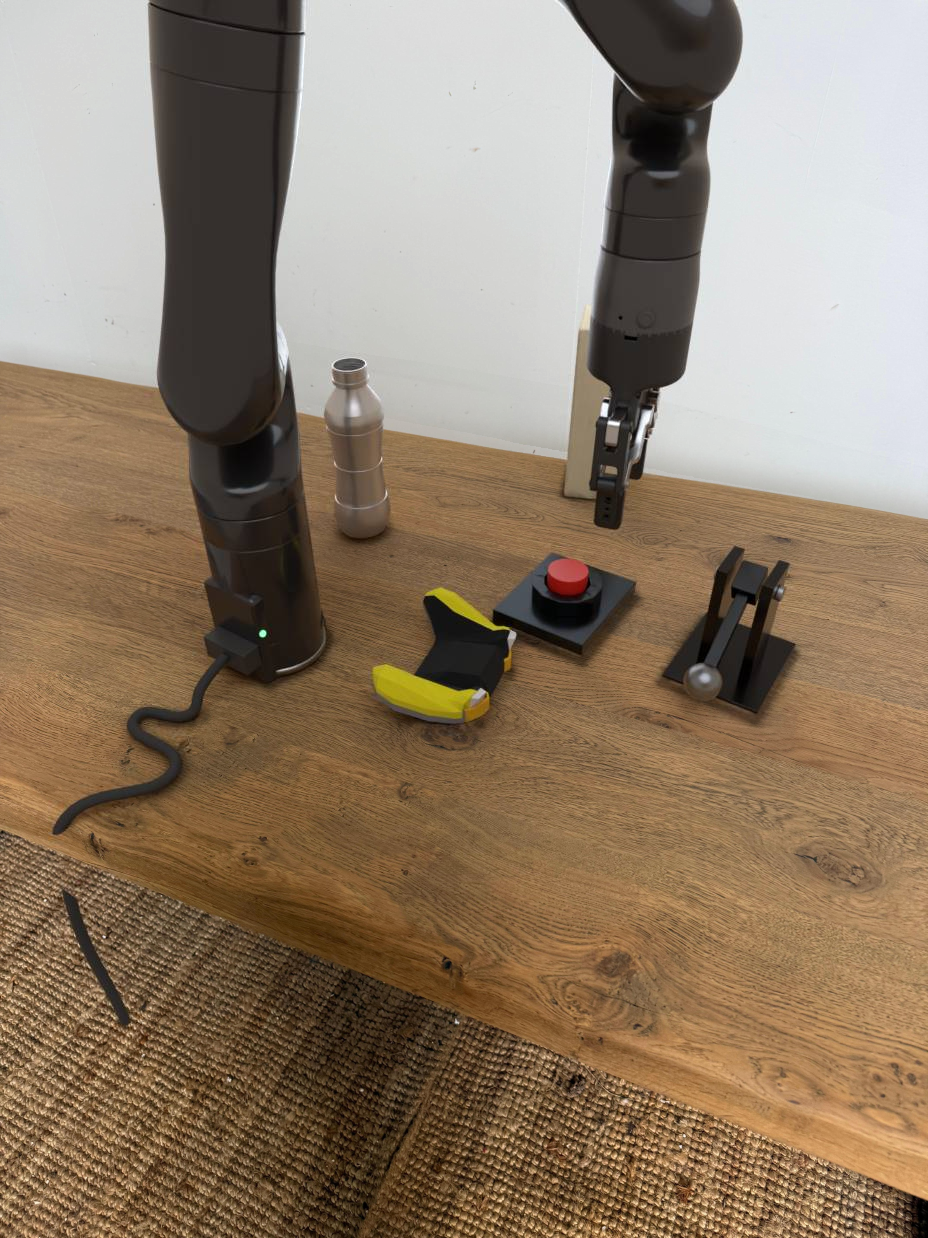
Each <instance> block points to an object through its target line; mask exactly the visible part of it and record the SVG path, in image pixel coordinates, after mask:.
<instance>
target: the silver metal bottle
mask: <svg viewBox="0 0 928 1238" xmlns="http://www.w3.org/2000/svg"><path fill="white" fill-rule="evenodd" d="M331 373H332V377H331V382H332V384H333V386H334V388H333V390H332V392H331V393H330V394H329V396H328V398H327V400H326V402H325V404H324V405H325V406H324V409H323V410H324V411H323V419H324V424H325V427H326V431H327V435H328V439H329V443H330V447H331V452H332V458H333V463H334V471H335V474H334V475H335V477H334V478H335V495H334V504H333V505H334V506H333V507H334V508H333V510H334V511H333V516H334V519H335V521H336V525H337V527H338V529H339V530H341V532H342V533H344V534H345V535H346V536H348V537H351V538H354V539H355V538H356V539H368V538H372V537H375V536H378V535H379V534H382V533H383V531H384V530H385V529H386V528H387V526H388V525H389V524H390V520H391V511H392V507H391V502H390V497H389V494H388V491H387V487H386V479H385V475H384V467H383V434H384V421H385V409H384V406H383V403H382V401H381V398H380V397H379V396H378V395H377V394H376V392H375V391H374V390H373V389H372V388H371V387H370V386H369V384H368V383H369V382H370V375H369V373H368V363H367V361H366V360H365V359H363V358H360V357H343V358H339V359H337V360H335V361H333V362H332V364H331Z"/></svg>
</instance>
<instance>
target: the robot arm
mask: <svg viewBox="0 0 928 1238" xmlns="http://www.w3.org/2000/svg"><path fill="white" fill-rule="evenodd" d="M554 1H555V2H556V3H558V4H559V5H560V6H561V7H562V8H563V9H564V10H565V11H566V12H567V13H568V14H569V16H570V18H572V20H573V21H574V22H575V24H576V25H577V26H578V28H579V29H580V30H581V32H582V33H583V34H584V35H585V37H586V38H587V39H588V41H589V42H590V43H591V44H592V46H593V48H595V50H596V51H597V52H598V54H599V55H600V56H601V57H602V59H603V60H604V61H605V62H606V64H607V65H608V66H609V68H611V70H612V86H611V89H612V90H611V125H610V126H611V128H610V130H611V131H610V132H611V134H610V136H611V137H610V139H611V140H610V141H611V145H610V147H611V151H610V161H609V168H608V174H607V180H606V185H605V186H606V187H605V193H604V201H603V203H604V204H603V212H602V213H603V214H602V224H601V234H600V245H599V251H598V256H597V261H596V266H595V271H594V276H593V282H592V295H591V304H590V305H591V317H590V328H589V339H588V351H587V368H588V370H589V372H590V373H591V374H592V376H594V377H595V378H596V379H598V380H599V381H603V382H604V383H606V384H607V385H608V386H609V387H610V390H609V398H604V399H603V402H602V406H601V410H600V416H599V418H598V421H596V425H595V427H596V434H595V443H594V452H593V461H592V470H591V479H590V481H589V486H590V491H595V492H596V491H597V494H596V499H595V503H594V504H595V505H594V512H593V513H594V514H593V524H594V525H595V527H598V528H602V529H608V530H612V531H617V530H619V529H620V527H621V525H622V523H623V518H624V510H625V502H626V495H627V488H629V486H630V480H634V481H638V480H640V479H641V478H642V476H643V474H644V469H645V463H646V456H647V448H648V443H649V439H650V437H651V436H652V435H653V431H654V428H655V426H656V422H657V419H658V414H659V413H658V408H659V406H660V402H661V401H660V400H661V388H666V387H669V386H671V385H674V384H675V383H677V382H678V381H680V380H681V379H682V378H683V377H684V375H685V372H686V370H687V365H688V364H687V363H688V356H689V352H690V351H689V350H690V344H691V339H692V331H693V325H694V320H695V313H696V307H697V301H698V296H699V289H700V279H701V255H702V248H703V241H704V236H705V229H706V222H707V218H708V217H707V216H708V211H709V203H710V196H711V195H710V194H711V185H712V184H711V183H712V177H711V176H712V175H711V173H712V172H711V166H710V165H711V164H710V161H709V155H708V143H709V142H708V141H709V134H710V129H711V121H712V114H713V107H714V102H715V101H716V100H717V99H719V98H720V96H722V94H723V93H724V92H725V91H726V90H727V88H728V87H729V85H730V84H731V82H732V80H733V79H734V77H735V76H736V75H735V74H736V72H737V70H738V66H739V64H740V61H741V57H742V51H743V45H744V44H743V43H744V33H743V31H744V30H743V24H742V23H743V22H742V19H741V14H740V12H739V9H738V6H737V4H736V2H735V0H554ZM147 24H148V28H147V29H148V54H149V57H148V58H149V74H150V76H149V77H150V87H151V88H150V89H151V99H152V114H153V116H152V117H153V129H154V142H155V151H156V152H155V156H156V166H157V175H158V185H159V195H160V203H161V210H162V211H161V213H162V223H163V232H164V233H163V234H164V280H163V282H164V283H163V295H162V296H163V297H162V309H161V310H162V312H161V315H162V316H161V324H160V334H159V335H160V336H159V344H158V346H159V347H158V354H157V364H156V382H157V387H158V391H159V394H160V397H161V400H162V401H163V404H164V406H165V409H166V410H167V412H168V413H169V415H170V416H171V418H172V419H173V420H174V422H176V424H178V425H179V427H180V428H181V429H182V430H183V431H184V432H186V433H187V444H188V446H187V447H188V479H189V484H190V489H191V493H192V498H193V501H194V505H195V508H196V512H197V517H198V521H199V525H200V529H201V535H202V540H203V543H204V548H205V552H206V557H207V560H208V561H207V562H208V565H209V569H210V573H211V574H210V575H211V576H209V577H207V578H206V579H205V580H204V582H203V585H204V590H205V593H206V597H207V602H208V606H209V610H210V614H211V618H212V622H213V629H212V630H210V631H209V632H207V633H206V634H205V635H203V637H202V638H203V641H204V645H205V649H206V652H207V653H206V654H207V656H208V657H210V658H212V659H215V660H214V661H213V662H212V663H211V664H210V665H209V666H208V668H207V669H206V670H205V672H204V673H203V674H202V676H201V677H200V679H199V680H198V681H197V683H196V684H195V687H194V688H193V691H192V695H191V702H190V706H189V707H188V708H186V709H185V710H182V711H173V710H168V709H165V708H160V707H155V706H143V707H140V708H138V709H136V710H134V711H133V712H132V713H131V714H130V716H129V717H128V718H127V722H126V731H128V734H129V735H130V736H131V737H132V738H134V739H135V740H137V741H138V742H139V743H141V744H143V745H145V746H146V747H149V748H151V749H153V750H155V751H157V752H159V753H161V754H162V755H163V756H165V757H166V758H167V760H168V761H169V765H168V768H167V769H166V770H165V772H164V773H163V774H160V776H159V777H157V778H155V779H153V780H150V781H149V780H148V781H146V782H142V783H139V784H134V785H129V786H121V787H117V788H111V789H107V790H102V791H99V792H95V793H91V794H89V795H87V796H85V797H82V798H79V799H78V800H77V801H74V803H71V804H70V805H69V806H68V807H67V808H66V809H64V811H63V812H62V813H61V814H60V815H59V817H58V818H57V820H56V821H55V823H54V825H53V827H52V832H51V834H52V835H54V836H59V835H61V834H63V833H64V832H65V831H66V830H67V829H68V828H69V827H70V825H71V823H72V822H73V821H74V820H75V819H77V817H78V816H79V815H81V814H82V813H83V812H85V811H87V810H89V809H91V808H93V807H96V806H100V805H103V804H106V803H111V802H117V801H121V800H126V799H127V800H128V799H131V798H138V797H141V796H146V795H150V794H153V793H156V792H158V791H160V790H162V789H164V788H166V787H168V786H169V785H170V784H171V783H172V782H174V781H175V780H176V778H177V777H178V776H179V774H180V772H181V769H182V766H183V761H182V756H181V754H180V752H179V751H178V750H177V749H176V748H175V747H173V746H172V745H171V744H170V743H168V742H166V741H165V740H162V739H160V738H159V737H157V736H155V735H153V734H150V733H148V732H147V731H145V730H143V729H142V728H141V727H140V725H139V724H140V722H141V721H142V720H143V719H145V718H153V719H158V720H162V721H167V722H172V723H185V722H188V721H191V720H193V719H194V718H196V717H197V716H198V715H199V714H200V712H201V710H202V708H203V702H204V696H205V693H206V691H207V690H208V688H209V686H210V684H211V683H212V682H213V680H214V679H215V678H216V676H217V675H218V674H219V673H220V671H222V670H223V668H224V667H225V666H227V667H230V668H232V669H234V670H236V671H238V672H240V673H242V674H243V675H245V676H249V675H251V676H252V677H255V678H257V679H259V680H262V681H263V682H265V683H271V682H272V681H274V679H276V678H278V677H282V676H288V675H291V674H294V673H297V672H299V671H302V670H303V669H305V668H307V667H309V666H310V665H312V664H313V663H314V662H316V661H317V660H318V659H319V657H320V656H321V655H323V652H324V650H325V648H326V646H327V636H326V635H327V634H326V630H328V627H327V620H326V618H325V615H324V613H323V610H322V606H321V601H320V599H321V598H320V592H319V585H318V579H317V572H316V565H315V564H316V563H315V557H314V550H313V543H312V537H311V536H312V535H311V529H310V522H309V513H308V507H307V506H308V505H307V499H306V493H305V484H304V479H303V470H302V469H303V468H302V452H301V451H302V450H301V437H300V429H299V421H298V413H297V405H296V396H295V388H294V381H293V372H292V365H291V360H290V359H291V358H290V352H289V347H288V343H287V340H286V337H285V334H284V331H283V330H282V328H281V325H280V324H279V323H278V321H277V320H278V317H277V269H278V268H277V267H278V264H277V263H278V253H279V247H280V241H281V240H280V239H281V233H282V228H283V224H284V218H285V213H286V209H287V202H288V196H289V193H290V186H291V181H292V177H293V176H292V175H293V169H294V163H295V162H294V161H295V157H296V149H297V143H298V135H299V134H298V133H299V125H300V118H301V108H302V99H303V86H304V85H303V84H304V68H305V50H306V48H305V47H306V32H305V31H306V29H307V0H148V3H147ZM606 466H612V467H615V468H617V475H616V474H610V473H605V470H606ZM324 626H325V627H324ZM60 889H61V894H62V897H63V902H64V906H65V909H66V913H67V916H68V919H69V921H70V922H69V923H70V925H71V929H72V931H73V933H74V936H75V938H76V940H77V944H78V945H79V948H80V950H81V952H82V954H83V956H84V957H85V959H86V961H87V963H88V965H89V968H90V970H91V971H92V973H93V975H94V976H95V978H96V980H97V981H98V983H99V985H100V987H101V988H102V990H103V992H104V994H105V995H106V997H107V999H108V1002H109V1003H110V1005H111V1007H112V1009H113V1011H114V1013H115V1015H116V1017H117V1020H118V1022H119V1024H120V1025H121V1026H122V1027H127V1026H128V1025H130V1024H131V1022H132V1019H131V1016H130V1014H129V1011H128V1009H127V1007H126V1005H125V1003H124V1001H123V998H122V995H120V993H119V990H118V988H117V987H116V985H115V983H114V981H113V980H112V978H111V975H110V974H109V973H108V970H107V969H106V967H105V965H104V963H103V961H102V959H101V958H100V956H99V954H98V952H97V950H96V948H95V945H94V943H93V941H92V939H91V937H90V934H89V932H88V929H87V927H86V923H85V922H84V918H83V915H82V911H81V908H80V905H79V900H78V899H77V898H76V897H75V896H74V895H72V894H71V893H69V892H68V891H67V890H65V889H64V888H63V887H60Z"/></svg>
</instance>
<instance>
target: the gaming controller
mask: <svg viewBox="0 0 928 1238" xmlns="http://www.w3.org/2000/svg"><path fill="white" fill-rule="evenodd" d="M422 608H423V610H424V613H425V615H426V618H427V620H428V623H429V626H430V630H431V632H432V635H433V639H434V641H433V644H432V645H431V647H430V649H429V651H428V652H427V654H426V656H425V657H424V658H423V660H422V662H421V663H420V665H419V666H418V668H417V669H416V671H415V673H414V674H411V672H407V671H405V670H403V669H400V668H397V667H395V666H393V665H390V664H387V663H385V664H380V665H376V666H373V667H372V673H371V674H372V678H371V681H372V682H371V684H372V689H373V693H374V694H375V697H376V699H377V700H379V701H380V702H382V703H383V704H384V705H386V706H387V707H388V708H389V709H391V710H392V711H394V712H397V713H401V714H404V715H407V716H411V717H414V718H417V719H420V720H423V721H426V722H432V723H441V724H451V725H452V724H453V725H457V724H463V723H470V722H472V721H474V720H475V719H478V718H480V717H482V716H483V715H484V714H486V713H487V712H488V711H489V710H490V699H491V697H492V696H493V693H494V692H495V690H496V688H497V686H498V684H499V682H500V681H501V678H502V676H503V675H504V673H505V672H507V671H509V670H510V669H511V668H512V647H513V646H514V645H513V644H514V642H515V641H516V637H517V632H515V631H514V630H512V629H510V627H505V626H495V625H494V624H493V621H492V622H491V620H489V619H488V618H487V617H486V616H484V615H483V614H482V613H481V612H479V610H477V609H476V608H474V607H473V605H471V604H469V603H468V602H467V601H466V600H465V599H464V598H462V597H461V595H460V596H459V595H458V594H457V593H456V592H455V591H451V590H449V589H446V588H443V587H437V588H434V589H432V590H429V591H428V592H426V593H425V594H424V597H423V600H422Z"/></svg>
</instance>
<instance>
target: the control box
mask: <svg viewBox="0 0 928 1238" xmlns="http://www.w3.org/2000/svg"><path fill="white" fill-rule="evenodd" d="M559 559H571V558H570V557H567V556H565V555H561V554H559V553H555V552H553V551H551V552H550V553H549V554H548V555H546V557H545V558H544V559H542V561H541V562H540V563H539V564H538V565H536V567H535V568H534V569H533V570H531V571H530V573H529V574H527V575H526V576H525V577H524V578H523V580H521V581H520V582H519V583H518V584H517V585H516V586H515V587H514V588H513V589H512V590H511V591H510V592H509V593H508V594H507V595H506V596H505V597H504V598H503V599H502V600H501V601H500V602H499V603H498V604H497V605H495V607H494V608H493V609H492V623H493V624H494V625H495V626H505V627H509V628H512V629H514V630H517V631H518V632H521V633H524V634H526V635H529V636H531V637H534V638H537V639H539V640H541V641H544V642H545V643H549V644H551V645H553V646H556V647H559V648H561V649H563V650H566V651H569V652H570V653H573V654H575V655H577V656H580V657H581V656H583V655H584V654H585V653H586V651H587V650H588V649H589V648H590V647H591V646H592V644H593V643H594V642H595V641H596V640H597V639H598V637H599V636H600V635H601V634H602V632H603V631H604V630H605V629H606V628H607V626H608V625H609V624H610V623H611V621H613V619H614V618H615V617H616V615H617V614H618V613H619V612H620V611H621V610H622V608H623V607H625V605H626V604H627V603H628V602H629V600H630V599H631V598H632V596H633V595H634V594H635V593H636V589H637V581H635V580H632V579H629V578H626V577H624V576H621V575H617V574H616V573H612V572H609V571H607V570H604V569H601V568H598V567H595V566H592V565H589V564H587V563H584V564H585V565H586V566H587V568H588V571H589V573H588V582H587V588H586V590H585V591H584V592H582V593H579V594H576V595H561V594H559V593H556V592H553V591H551V590H550V589H549V588H548V585H547V575H548V567H549V565H550V564H551V563H552V562H554V561H556V560H559Z"/></svg>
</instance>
